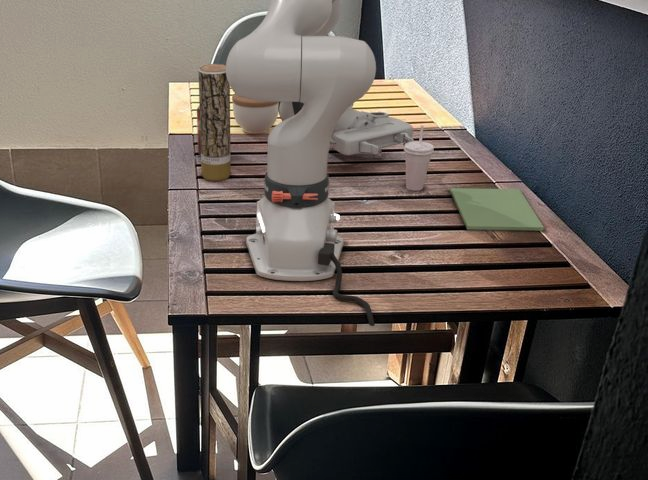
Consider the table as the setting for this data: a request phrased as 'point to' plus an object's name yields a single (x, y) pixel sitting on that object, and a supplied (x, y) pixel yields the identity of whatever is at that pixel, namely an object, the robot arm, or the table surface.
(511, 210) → the pad
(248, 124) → the lidded bowl
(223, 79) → the paper tube
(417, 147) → the smoothie
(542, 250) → the table surface
